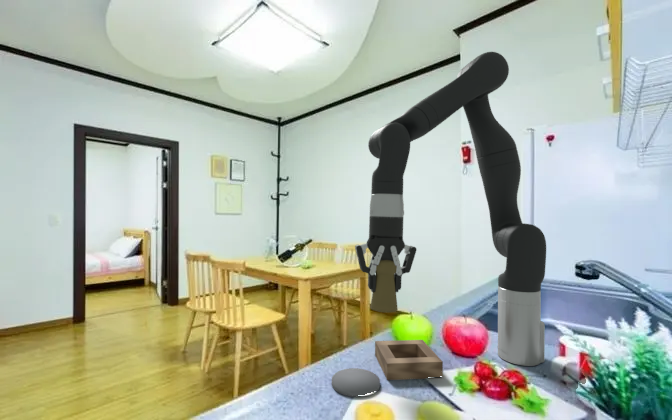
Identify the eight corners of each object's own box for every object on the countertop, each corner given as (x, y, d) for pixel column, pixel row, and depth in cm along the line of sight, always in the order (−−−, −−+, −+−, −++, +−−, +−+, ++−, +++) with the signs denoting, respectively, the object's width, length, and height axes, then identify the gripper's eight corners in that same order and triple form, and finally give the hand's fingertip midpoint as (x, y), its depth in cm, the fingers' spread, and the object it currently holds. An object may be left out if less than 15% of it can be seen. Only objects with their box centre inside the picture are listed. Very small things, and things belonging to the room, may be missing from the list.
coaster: (374, 371, 74) (374, 367, 74) (385, 395, 64) (385, 391, 64) (329, 372, 73) (329, 369, 73) (333, 398, 63) (333, 393, 63)
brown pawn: (396, 305, 76) (398, 257, 76) (398, 313, 70) (400, 261, 70) (370, 303, 77) (371, 256, 77) (370, 311, 71) (371, 260, 71)
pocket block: (422, 353, 83) (422, 339, 83) (442, 377, 71) (442, 361, 71) (375, 355, 82) (375, 341, 82) (387, 380, 70) (387, 363, 70)
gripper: (412, 215, 78) (410, 288, 78) (352, 214, 77) (350, 287, 77) (423, 216, 70) (421, 296, 70) (357, 214, 69) (354, 295, 69)
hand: (384, 291), depth 73 cm, fingers closed on brown pawn, 4 cm apart
